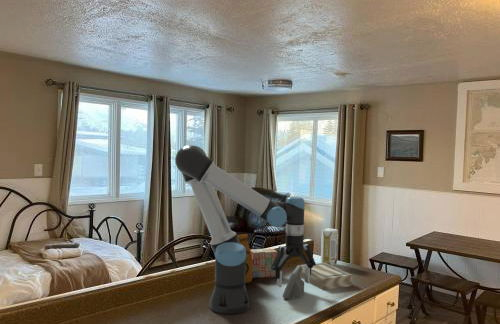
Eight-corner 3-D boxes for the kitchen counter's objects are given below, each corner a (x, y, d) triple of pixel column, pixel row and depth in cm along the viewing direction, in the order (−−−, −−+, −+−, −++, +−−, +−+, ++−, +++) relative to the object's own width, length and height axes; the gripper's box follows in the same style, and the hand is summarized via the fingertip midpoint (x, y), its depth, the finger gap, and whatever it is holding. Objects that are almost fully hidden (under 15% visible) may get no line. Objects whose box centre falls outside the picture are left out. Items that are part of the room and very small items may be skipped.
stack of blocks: (234, 279, 188) (234, 253, 187) (230, 275, 194) (231, 250, 193) (277, 276, 194) (277, 251, 194) (272, 272, 200) (273, 248, 200)
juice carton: (338, 264, 218) (339, 229, 218) (332, 267, 211) (333, 231, 211) (325, 261, 222) (326, 227, 222) (319, 265, 215) (320, 229, 215)
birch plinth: (322, 290, 175) (323, 278, 175) (296, 275, 195) (296, 265, 195) (352, 285, 182) (352, 274, 182) (323, 272, 202) (324, 262, 202)
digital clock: (291, 287, 179) (291, 263, 178) (310, 291, 174) (310, 266, 174) (275, 298, 164) (276, 272, 164) (295, 302, 160) (296, 276, 160)
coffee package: (255, 283, 182) (256, 235, 182) (232, 288, 175) (234, 238, 174) (242, 277, 190) (243, 231, 190) (220, 282, 183) (221, 234, 182)
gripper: (272, 237, 160) (271, 290, 160) (324, 233, 170) (323, 283, 171) (264, 234, 167) (262, 284, 167) (314, 230, 177) (313, 278, 178)
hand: (293, 284), depth 169 cm, fingers open, 13 cm apart
